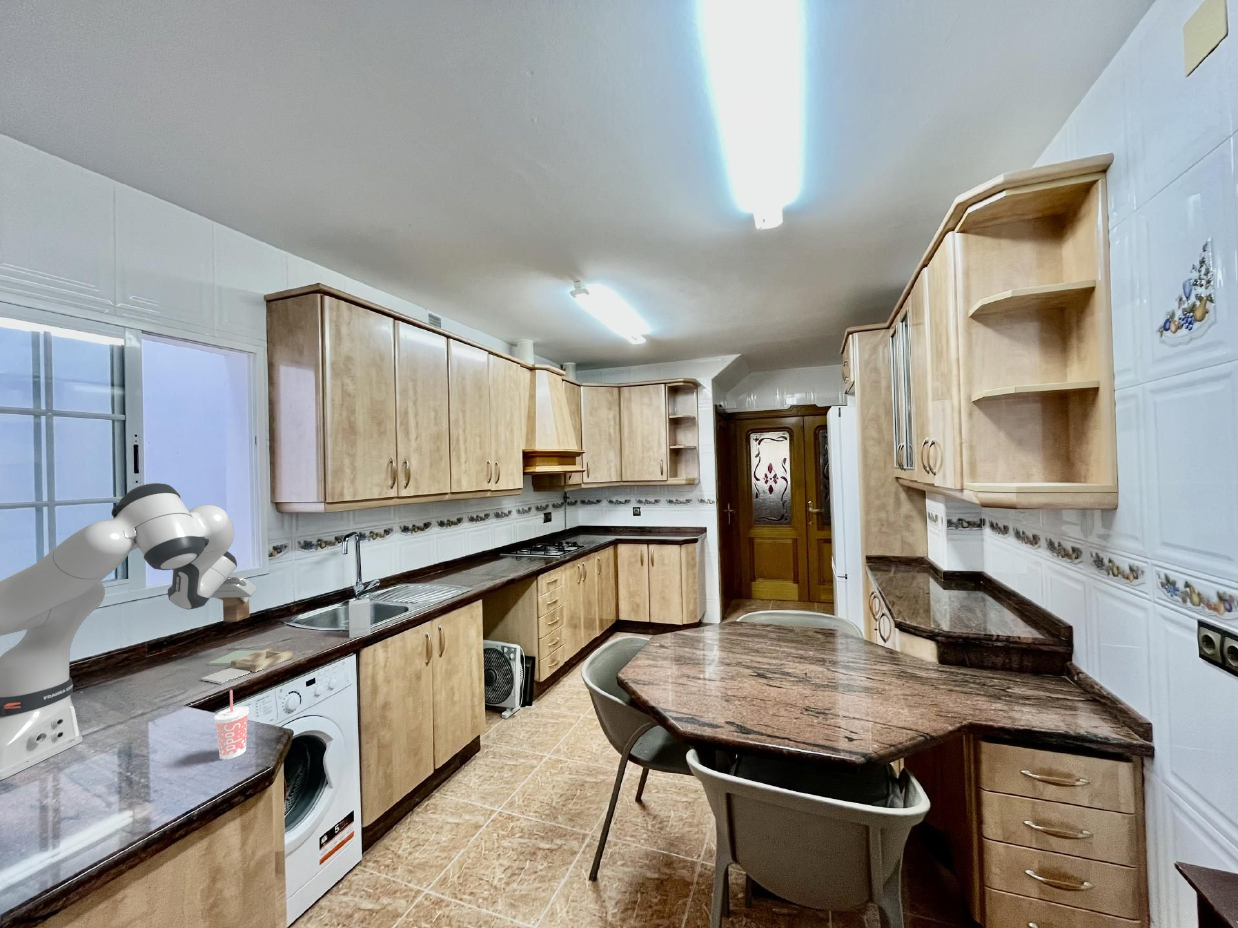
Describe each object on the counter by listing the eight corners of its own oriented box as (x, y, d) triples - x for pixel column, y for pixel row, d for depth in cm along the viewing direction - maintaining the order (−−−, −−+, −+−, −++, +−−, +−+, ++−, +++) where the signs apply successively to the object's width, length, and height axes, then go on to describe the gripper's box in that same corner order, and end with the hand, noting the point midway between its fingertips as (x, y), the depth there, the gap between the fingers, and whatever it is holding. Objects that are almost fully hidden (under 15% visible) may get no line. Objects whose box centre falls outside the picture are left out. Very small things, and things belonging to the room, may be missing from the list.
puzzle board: (223, 685, 145) (223, 676, 145) (198, 680, 149) (198, 672, 149) (293, 658, 165) (292, 651, 165) (269, 655, 169) (269, 647, 169)
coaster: (237, 665, 161) (237, 662, 161) (207, 665, 162) (207, 662, 162) (265, 652, 172) (265, 650, 172) (237, 652, 173) (237, 650, 173)
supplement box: (370, 634, 187) (369, 601, 187) (348, 638, 184) (347, 605, 184) (370, 629, 194) (369, 597, 194) (349, 633, 190) (348, 600, 190)
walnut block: (236, 621, 164) (235, 588, 164) (223, 621, 165) (222, 588, 165) (249, 616, 169) (248, 585, 169) (236, 616, 170) (235, 585, 170)
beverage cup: (209, 763, 104) (207, 698, 104) (223, 748, 110) (221, 686, 110) (242, 758, 106) (240, 693, 106) (255, 743, 112) (253, 682, 112)
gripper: (244, 569, 159) (270, 591, 169) (188, 570, 161) (217, 592, 171) (233, 586, 155) (259, 608, 164) (175, 587, 157) (205, 608, 166)
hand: (237, 600), depth 168 cm, fingers closed on walnut block, 5 cm apart
